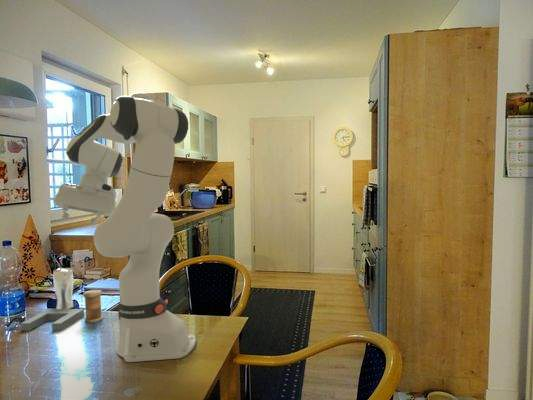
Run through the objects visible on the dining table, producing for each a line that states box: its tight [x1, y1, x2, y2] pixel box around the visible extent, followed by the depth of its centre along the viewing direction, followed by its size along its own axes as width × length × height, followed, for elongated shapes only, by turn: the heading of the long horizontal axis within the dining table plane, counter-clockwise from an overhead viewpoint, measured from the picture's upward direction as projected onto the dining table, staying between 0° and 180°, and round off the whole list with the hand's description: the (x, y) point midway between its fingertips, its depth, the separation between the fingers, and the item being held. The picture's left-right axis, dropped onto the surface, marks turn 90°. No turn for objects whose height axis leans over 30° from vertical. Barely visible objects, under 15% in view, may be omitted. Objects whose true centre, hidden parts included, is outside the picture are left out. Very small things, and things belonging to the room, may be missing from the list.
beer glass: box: [52, 267, 75, 309], centre depth 153 cm, size 7×7×15 cm
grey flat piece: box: [20, 308, 85, 332], centre depth 137 cm, size 14×14×2 cm
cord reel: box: [82, 289, 104, 324], centre depth 139 cm, size 6×6×10 cm
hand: (78, 221), depth 136 cm, fingers open, 8 cm apart
